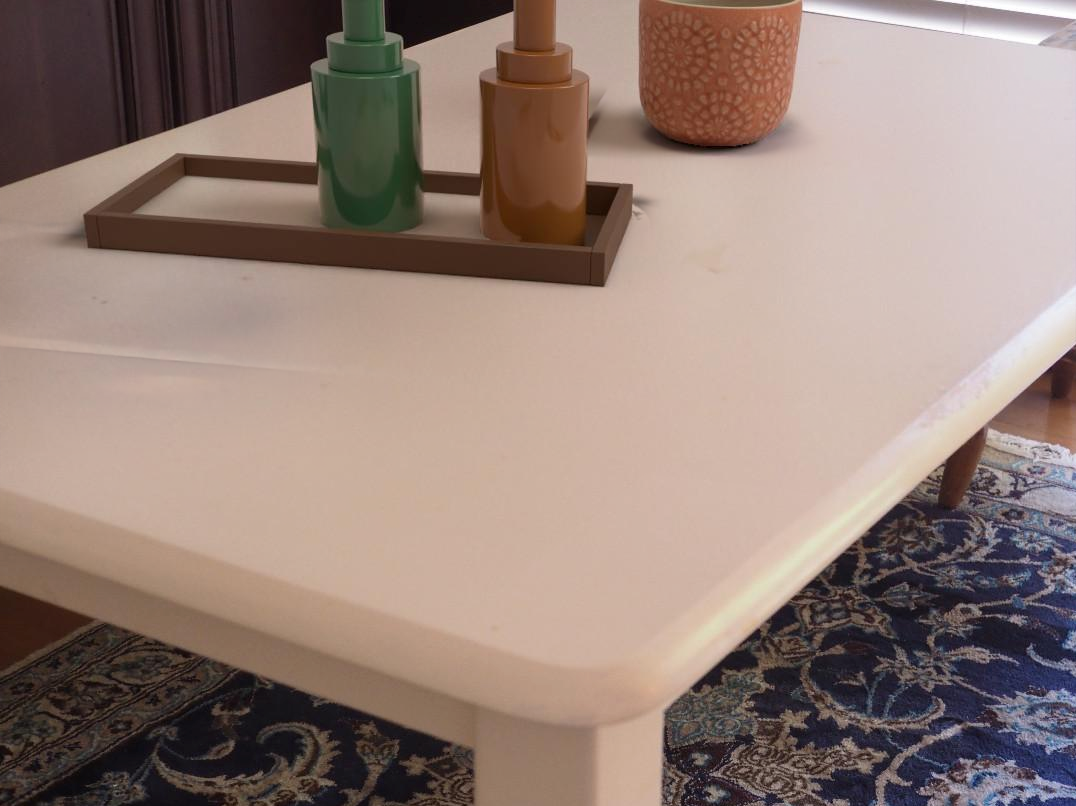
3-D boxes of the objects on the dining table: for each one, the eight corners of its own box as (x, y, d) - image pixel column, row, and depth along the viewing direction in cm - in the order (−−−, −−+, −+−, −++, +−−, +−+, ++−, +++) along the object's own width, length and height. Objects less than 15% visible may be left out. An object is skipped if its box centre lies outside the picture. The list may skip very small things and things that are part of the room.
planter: (655, 111, 119) (661, -25, 114) (801, 125, 116) (814, -13, 111) (615, 147, 108) (620, -1, 103) (776, 164, 105) (789, 13, 100)
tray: (88, 256, 83) (82, 214, 82) (180, 190, 95) (176, 152, 94) (603, 296, 80) (605, 252, 79) (631, 222, 92) (633, 183, 91)
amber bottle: (470, 254, 84) (466, -13, 77) (492, 221, 89) (490, -30, 82) (576, 262, 83) (583, -6, 76) (592, 228, 89) (599, -24, 82)
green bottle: (306, 242, 85) (288, -22, 78) (338, 210, 90) (324, -39, 83) (410, 250, 84) (401, -16, 77) (436, 217, 90) (430, -33, 83)
